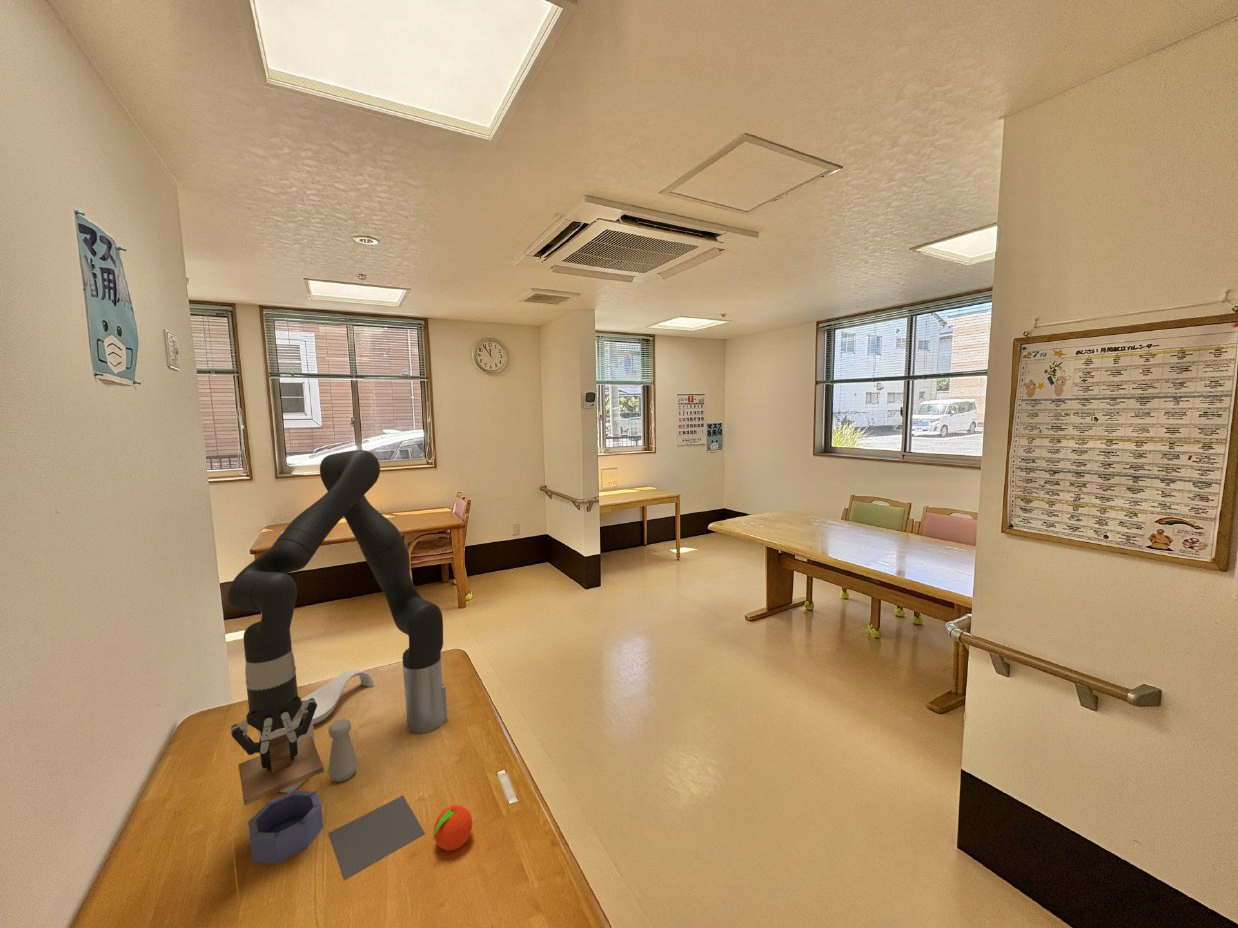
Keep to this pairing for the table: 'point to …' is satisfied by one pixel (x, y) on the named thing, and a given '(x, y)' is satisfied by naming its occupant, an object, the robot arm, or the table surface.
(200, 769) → the table surface
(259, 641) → the robot arm
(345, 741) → the salt shaker
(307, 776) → the lid
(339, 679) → the spoon rest
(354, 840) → the mat
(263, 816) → the bowl
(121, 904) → the table surface
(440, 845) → the clementine
